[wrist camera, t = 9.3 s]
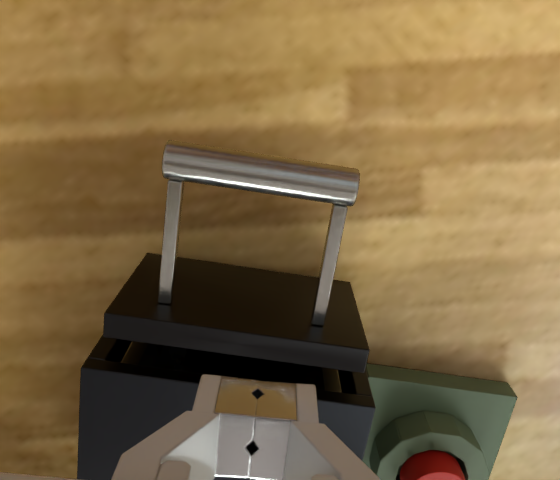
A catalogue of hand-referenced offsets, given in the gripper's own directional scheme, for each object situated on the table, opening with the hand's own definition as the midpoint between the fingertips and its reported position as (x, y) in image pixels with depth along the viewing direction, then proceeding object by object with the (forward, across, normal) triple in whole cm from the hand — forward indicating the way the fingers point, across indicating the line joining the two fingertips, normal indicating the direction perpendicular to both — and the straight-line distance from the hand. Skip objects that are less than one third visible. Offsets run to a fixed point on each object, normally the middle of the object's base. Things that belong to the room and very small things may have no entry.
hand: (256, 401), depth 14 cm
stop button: (+13, -11, +14) cm, 22 cm away
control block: (+16, -11, +14) cm, 24 cm away
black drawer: (+16, +1, +6) cm, 17 cm away
